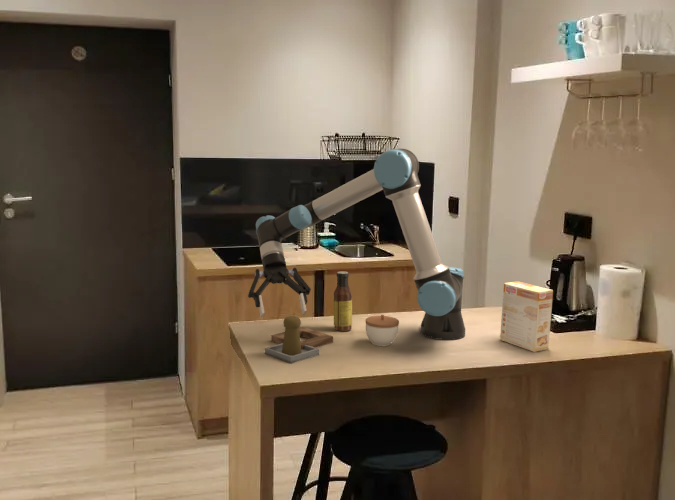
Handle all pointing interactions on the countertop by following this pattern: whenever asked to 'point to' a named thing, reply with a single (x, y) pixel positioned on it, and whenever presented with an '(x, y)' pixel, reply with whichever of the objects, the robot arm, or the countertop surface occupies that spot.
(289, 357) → the tray
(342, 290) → the sauce bottle
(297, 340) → the olive brown bulbous peg
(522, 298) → the coffeecake box
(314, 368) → the countertop surface
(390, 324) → the lidded jar
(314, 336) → the socket block
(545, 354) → the countertop surface
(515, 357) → the countertop surface
